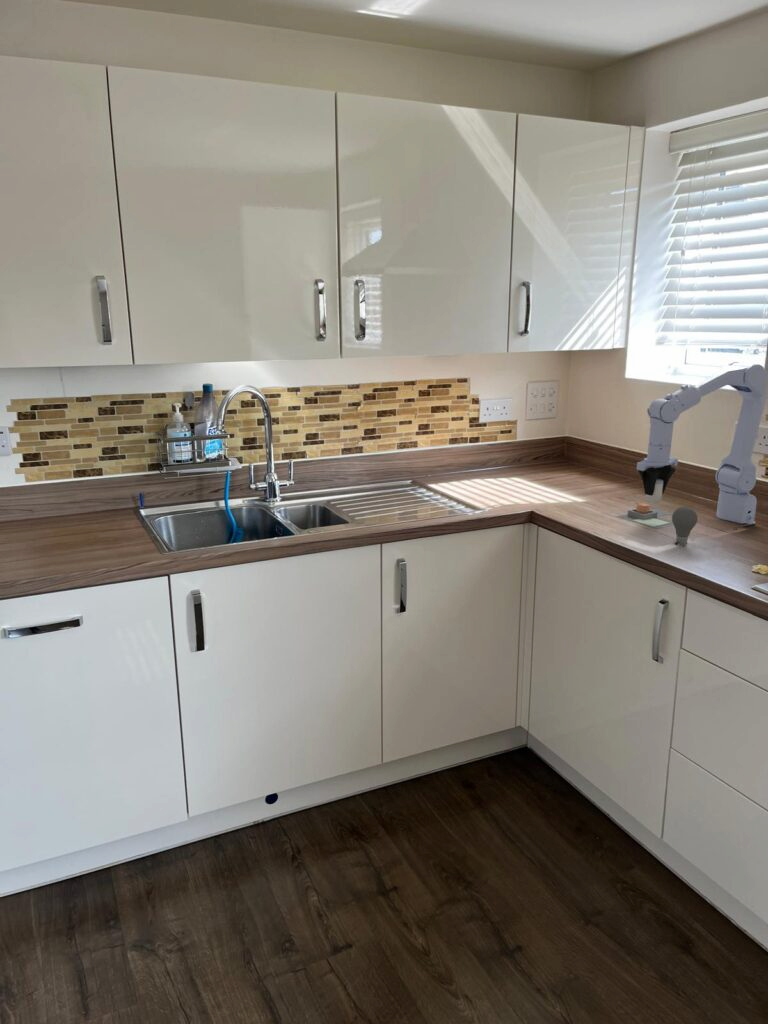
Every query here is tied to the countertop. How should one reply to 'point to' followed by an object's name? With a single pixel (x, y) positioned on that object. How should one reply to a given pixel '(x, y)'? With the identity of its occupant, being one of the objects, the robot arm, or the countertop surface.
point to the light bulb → (684, 523)
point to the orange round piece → (643, 508)
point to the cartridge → (656, 492)
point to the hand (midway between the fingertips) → (654, 493)
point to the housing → (648, 518)
